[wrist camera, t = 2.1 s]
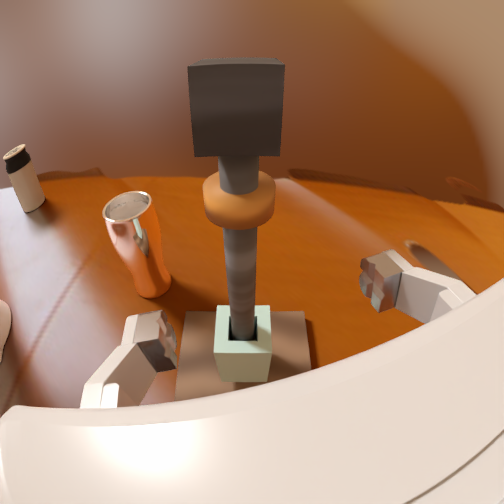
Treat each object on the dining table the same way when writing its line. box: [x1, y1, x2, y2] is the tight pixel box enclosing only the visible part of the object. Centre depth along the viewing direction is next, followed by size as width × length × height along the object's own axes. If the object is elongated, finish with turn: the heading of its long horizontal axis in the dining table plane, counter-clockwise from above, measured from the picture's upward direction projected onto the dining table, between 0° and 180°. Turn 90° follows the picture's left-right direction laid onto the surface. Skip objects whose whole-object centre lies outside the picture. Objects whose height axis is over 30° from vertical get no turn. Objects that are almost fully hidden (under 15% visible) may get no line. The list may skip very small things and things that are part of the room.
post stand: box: [174, 58, 311, 402], centre depth 21 cm, size 16×16×32 cm
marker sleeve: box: [214, 305, 272, 382], centre depth 27 cm, size 5×5×8 cm
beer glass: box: [103, 191, 171, 298], centre depth 37 cm, size 7×7×15 cm
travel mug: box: [3, 145, 45, 212], centre depth 54 cm, size 8×8×18 cm
